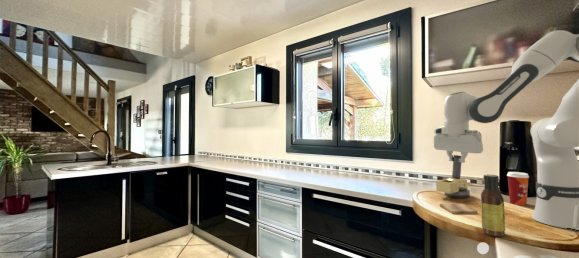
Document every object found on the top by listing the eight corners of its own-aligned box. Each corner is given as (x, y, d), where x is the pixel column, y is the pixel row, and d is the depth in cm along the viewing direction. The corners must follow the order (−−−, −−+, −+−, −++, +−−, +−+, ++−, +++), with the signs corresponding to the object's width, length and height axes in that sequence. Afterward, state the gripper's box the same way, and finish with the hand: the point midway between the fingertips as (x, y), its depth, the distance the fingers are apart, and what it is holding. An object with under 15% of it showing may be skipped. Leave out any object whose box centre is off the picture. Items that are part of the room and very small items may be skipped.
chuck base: (461, 192, 136) (461, 186, 136) (475, 198, 125) (474, 192, 125) (440, 192, 137) (440, 186, 137) (451, 198, 126) (451, 192, 126)
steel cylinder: (455, 177, 112) (457, 155, 112) (461, 179, 109) (463, 156, 109) (450, 177, 111) (452, 155, 111) (456, 179, 108) (457, 155, 108)
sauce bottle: (509, 238, 82) (508, 177, 82) (488, 237, 84) (487, 177, 83) (497, 229, 89) (496, 173, 89) (477, 228, 90) (476, 173, 90)
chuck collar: (452, 185, 137) (452, 176, 137) (471, 189, 129) (470, 179, 129) (434, 190, 130) (434, 180, 130) (452, 194, 122) (452, 183, 122)
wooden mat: (462, 205, 115) (462, 203, 115) (477, 213, 105) (477, 211, 105) (439, 205, 115) (439, 203, 115) (452, 213, 105) (452, 211, 105)
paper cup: (525, 207, 110) (525, 175, 110) (504, 202, 117) (503, 172, 117) (532, 204, 114) (532, 173, 114) (511, 200, 121) (510, 170, 121)
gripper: (486, 130, 101) (487, 164, 101) (441, 129, 120) (441, 158, 120) (475, 130, 99) (475, 165, 99) (431, 130, 118) (431, 159, 118)
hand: (456, 161), depth 110 cm, fingers closed on steel cylinder, 3 cm apart
